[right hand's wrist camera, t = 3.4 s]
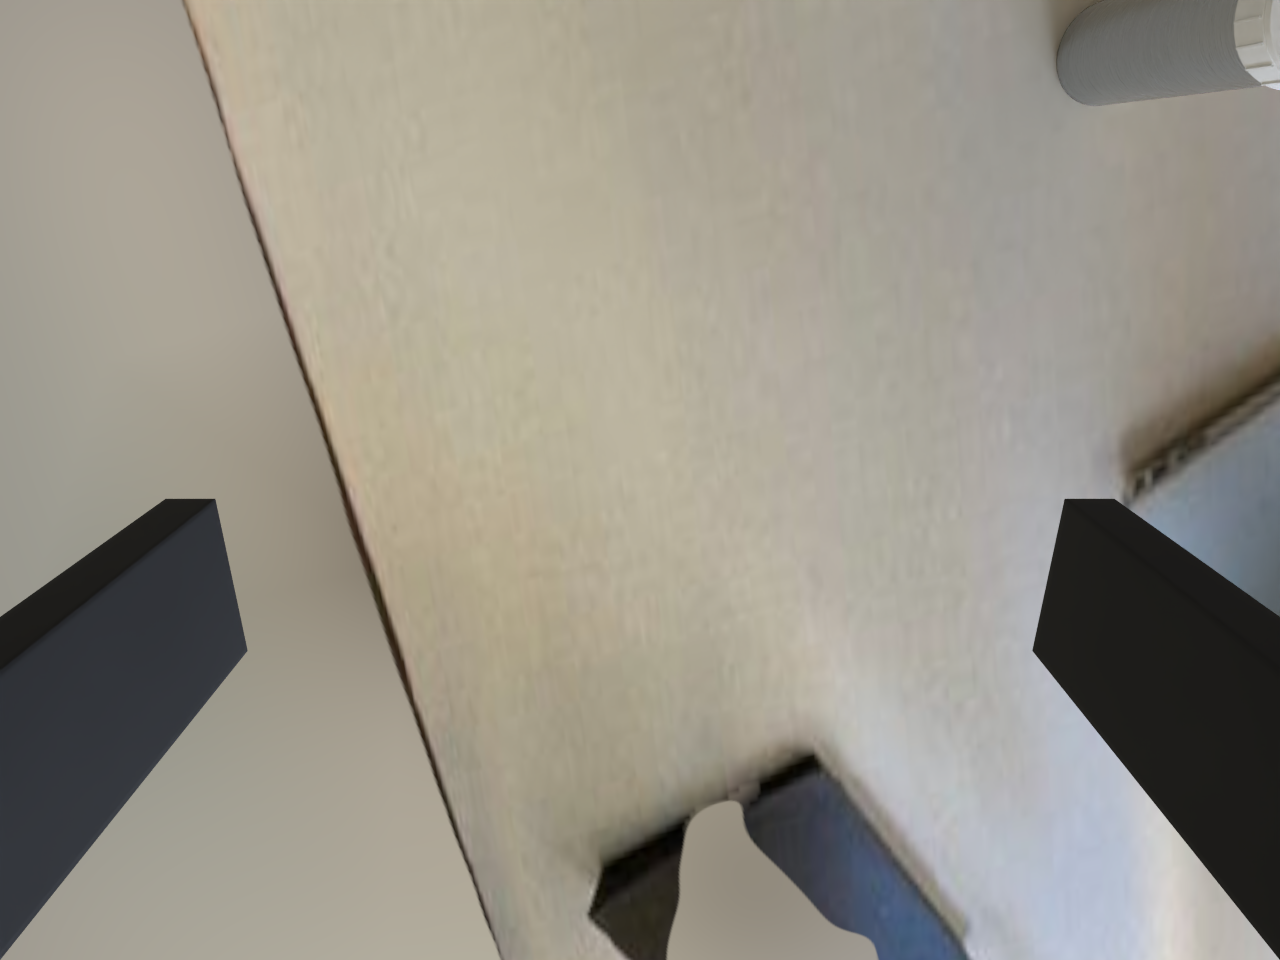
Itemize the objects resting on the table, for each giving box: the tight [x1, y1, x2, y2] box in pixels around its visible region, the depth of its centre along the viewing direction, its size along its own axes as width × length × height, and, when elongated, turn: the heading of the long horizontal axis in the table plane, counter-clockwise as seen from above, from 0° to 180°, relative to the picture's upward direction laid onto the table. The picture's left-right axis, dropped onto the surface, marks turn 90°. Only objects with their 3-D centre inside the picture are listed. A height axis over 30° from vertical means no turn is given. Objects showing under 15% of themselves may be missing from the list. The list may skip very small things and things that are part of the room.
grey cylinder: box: [1057, 0, 1262, 106], centre depth 38 cm, size 5×5×17 cm
